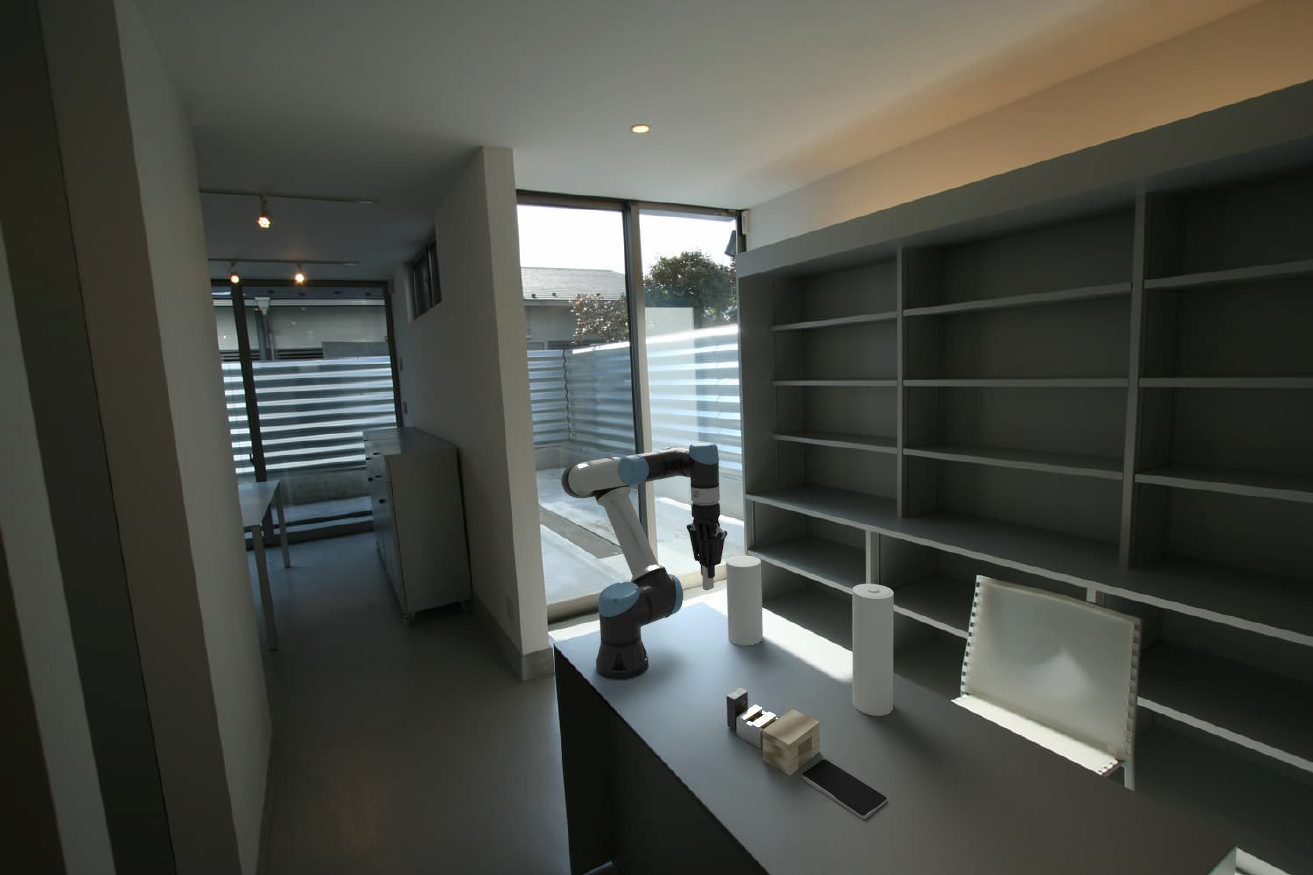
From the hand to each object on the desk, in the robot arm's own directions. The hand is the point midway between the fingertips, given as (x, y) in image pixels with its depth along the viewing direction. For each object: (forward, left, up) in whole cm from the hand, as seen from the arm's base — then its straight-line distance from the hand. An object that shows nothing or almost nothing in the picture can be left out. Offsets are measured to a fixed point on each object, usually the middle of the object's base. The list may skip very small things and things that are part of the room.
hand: (708, 588), depth 158 cm
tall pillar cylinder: (-10, +26, -27) cm, 39 cm away
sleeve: (+24, -10, -26) cm, 37 cm away
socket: (+34, -10, -26) cm, 44 cm away
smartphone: (+47, -11, -27) cm, 55 cm away
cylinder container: (+36, +20, -27) cm, 49 cm away
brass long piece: (+26, -10, -26) cm, 38 cm away
